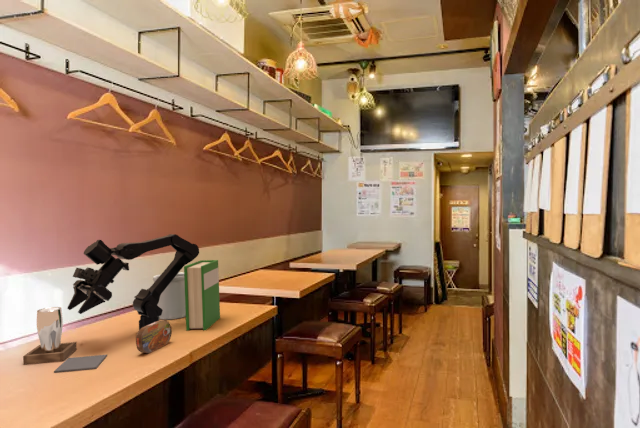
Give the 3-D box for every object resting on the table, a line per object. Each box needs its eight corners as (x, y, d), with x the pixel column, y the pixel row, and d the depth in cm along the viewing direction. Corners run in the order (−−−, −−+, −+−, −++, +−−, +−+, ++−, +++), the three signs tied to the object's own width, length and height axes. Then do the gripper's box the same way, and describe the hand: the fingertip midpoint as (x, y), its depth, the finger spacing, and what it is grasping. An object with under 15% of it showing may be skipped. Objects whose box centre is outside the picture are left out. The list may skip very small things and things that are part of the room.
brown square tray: (76, 349, 142) (76, 341, 142) (63, 360, 131) (63, 352, 131) (39, 352, 140) (39, 344, 140) (23, 364, 129) (23, 356, 129)
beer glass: (51, 361, 131) (49, 312, 131) (32, 360, 133) (30, 311, 132) (69, 353, 138) (67, 306, 138) (50, 352, 140) (48, 306, 139)
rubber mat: (107, 356, 135) (107, 354, 135) (96, 368, 124) (96, 367, 124) (68, 359, 132) (68, 357, 132) (54, 372, 122) (53, 371, 122)
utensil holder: (146, 318, 180) (144, 277, 179) (171, 310, 193) (170, 271, 193) (174, 321, 174) (172, 278, 174) (198, 312, 188) (196, 272, 187)
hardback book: (205, 330, 160) (203, 266, 159) (186, 330, 160) (183, 266, 160) (220, 318, 177) (218, 260, 177) (202, 318, 178) (200, 260, 178)
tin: (142, 357, 133) (141, 329, 133) (134, 356, 134) (133, 329, 134) (173, 341, 147) (172, 317, 147) (165, 341, 148) (164, 316, 148)
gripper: (78, 256, 150) (43, 293, 142) (100, 260, 138) (64, 300, 130) (102, 276, 156) (70, 312, 148) (126, 280, 144) (92, 320, 136)
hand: (73, 311), depth 141 cm, fingers open, 9 cm apart
